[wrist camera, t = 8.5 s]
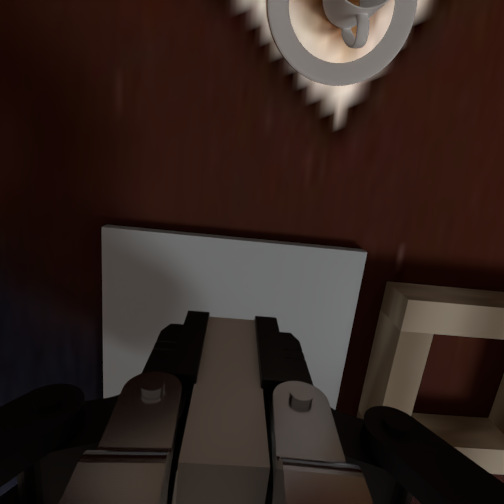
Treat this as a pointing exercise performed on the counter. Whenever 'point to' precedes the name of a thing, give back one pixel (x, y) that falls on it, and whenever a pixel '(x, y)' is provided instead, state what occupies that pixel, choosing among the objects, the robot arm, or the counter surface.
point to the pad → (225, 294)
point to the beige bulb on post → (225, 422)
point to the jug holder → (415, 355)
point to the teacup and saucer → (344, 18)
